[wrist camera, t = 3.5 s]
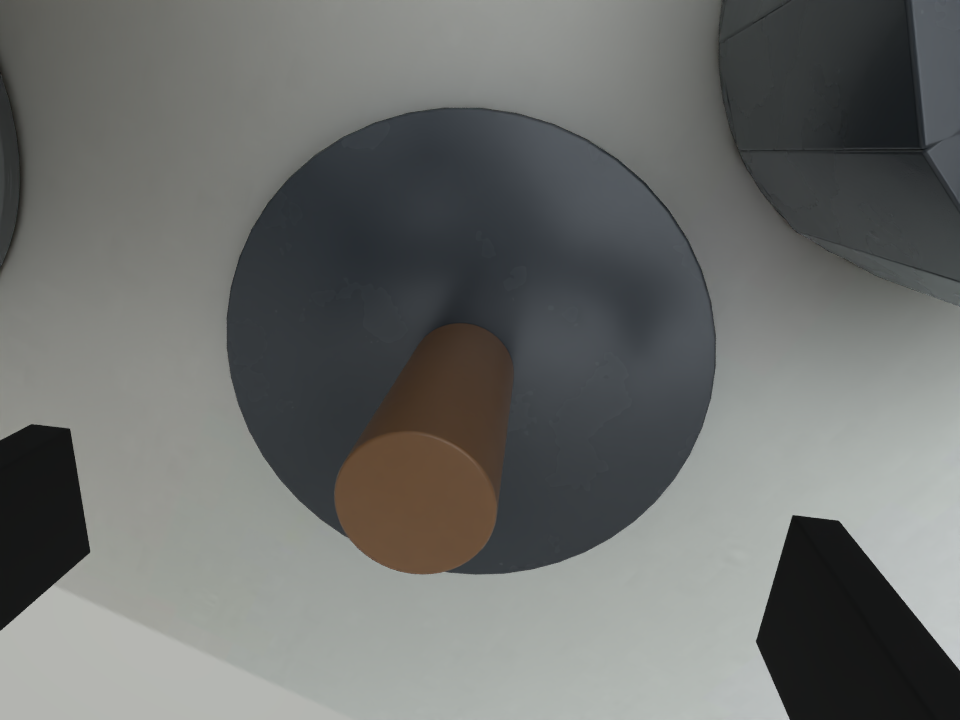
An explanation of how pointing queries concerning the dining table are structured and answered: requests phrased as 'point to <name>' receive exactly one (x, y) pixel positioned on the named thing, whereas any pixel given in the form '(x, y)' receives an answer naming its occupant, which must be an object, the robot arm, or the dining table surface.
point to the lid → (471, 341)
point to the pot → (854, 127)
